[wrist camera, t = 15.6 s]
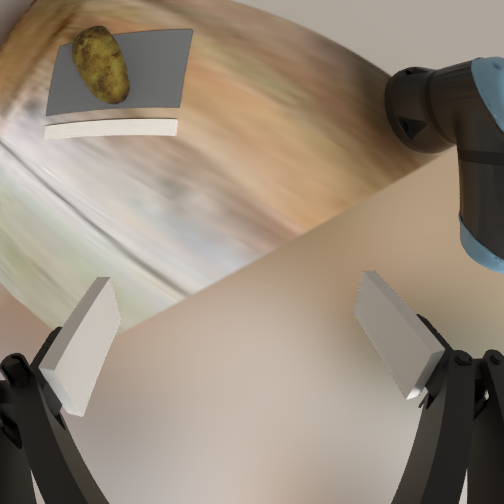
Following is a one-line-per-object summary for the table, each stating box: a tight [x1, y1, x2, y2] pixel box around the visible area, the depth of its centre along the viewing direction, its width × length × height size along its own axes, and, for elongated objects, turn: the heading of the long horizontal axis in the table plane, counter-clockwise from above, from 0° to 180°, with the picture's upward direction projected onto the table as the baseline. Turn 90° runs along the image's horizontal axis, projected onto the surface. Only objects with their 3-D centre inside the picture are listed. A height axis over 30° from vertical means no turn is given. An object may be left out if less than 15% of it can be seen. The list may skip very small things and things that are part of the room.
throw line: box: [44, 119, 178, 140], centre depth 35 cm, size 24×2×1 cm, turn 83°
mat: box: [46, 30, 193, 116], centre depth 32 cm, size 24×13×1 cm, turn 83°
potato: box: [72, 26, 130, 104], centre depth 28 cm, size 8×13×8 cm, turn 5°
